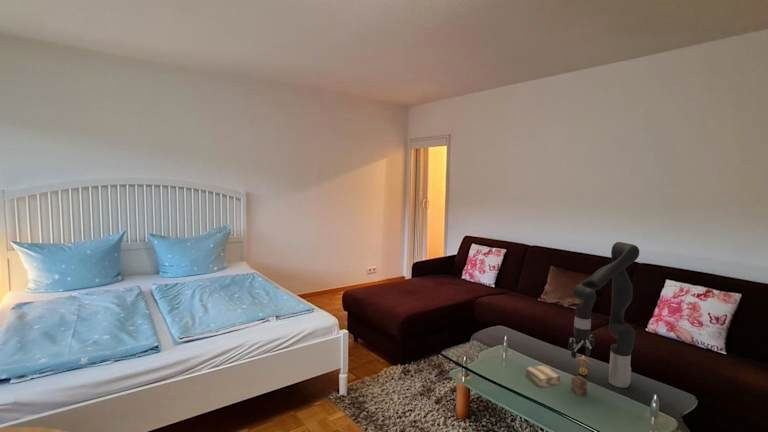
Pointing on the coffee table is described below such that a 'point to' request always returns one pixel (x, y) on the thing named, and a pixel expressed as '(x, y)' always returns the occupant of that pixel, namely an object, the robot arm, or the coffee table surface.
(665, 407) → the coffee table surface
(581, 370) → the figurine
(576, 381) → the walnut block
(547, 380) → the birch block
